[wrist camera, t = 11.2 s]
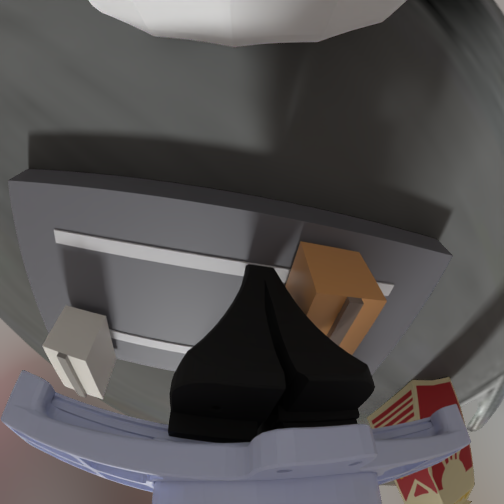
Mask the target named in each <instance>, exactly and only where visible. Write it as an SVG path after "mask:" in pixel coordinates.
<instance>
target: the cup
mask: <svg viewBox="0 0 504 504" xmlns="http://www.w3.org/2000/svg"><path fill="white" fill-rule="evenodd" d="M406 1H407V0H89V2H90V3H91V4H92V5H93V6H94V7H95V8H96V9H98V10H99V11H100V12H102V13H104V14H107V15H109V16H112V17H114V18H116V19H119V20H121V21H123V22H125V23H128V24H130V25H132V26H134V27H136V28H138V29H140V30H142V31H144V32H146V33H148V34H150V35H152V36H154V37H167V38H178V39H187V40H194V41H202V42H208V43H214V44H220V45H225V46H230V47H239V46H248V45H258V44H270V43H289V42H319V41H322V40H325V39H328V38H331V37H334V36H337V35H340V34H343V33H346V32H349V31H352V30H356V29H359V28H362V27H366V26H370V25H374V24H377V23H381V22H383V21H384V20H385V19H387V18H388V17H389V16H390V15H391V14H392V13H393V12H395V11H396V10H397V9H398V8H399V7H400V6H401V5H402V4H403V3H405V2H406Z"/></svg>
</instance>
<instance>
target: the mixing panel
mask: <svg viewBox="0 0 504 504" xmlns="http://www.w3.org/2000/svg"><path fill="white" fill-rule="evenodd" d="M8 184H9V193H10V200H11V206H12V212H13V218H14V223H15V228H16V233H17V238H18V242H19V246H20V250H21V254H22V258H23V262H24V266H25V269H26V272H27V276H28V279H29V282H30V285H31V288H32V291H33V294H34V297H35V300H36V303H37V306H38V308H39V311H40V313H41V316H42V319H43V321H44V324H45V326H46V328H47V331H48V333H50V331H51V329H52V328H53V326H54V324H55V322H56V321H57V319H58V317H59V316H60V314H61V312H62V311H63V309H64V308H65V306H66V305H67V306H71V307H74V308H78V309H81V310H85V311H89V312H93V313H97V314H100V315H104V316H106V318H107V323H108V327H109V331H110V336H111V340H112V344H113V348H114V352H115V355H116V358H117V359H121V360H125V361H129V362H133V363H137V364H142V365H146V366H151V367H156V368H161V369H166V370H171V371H176V369H177V367H178V365H179V364H180V362H181V360H182V359H183V357H184V356H185V354H186V352H187V351H188V350H189V349H191V348H192V347H193V346H194V345H196V344H197V343H198V342H199V341H200V340H202V339H203V338H204V337H205V336H206V335H207V334H208V333H209V332H210V331H211V330H212V329H213V328H214V326H215V325H216V324H217V323H218V322H219V321H220V319H221V318H222V317H223V316H224V314H225V313H226V311H227V310H228V308H229V307H230V305H231V304H232V302H233V300H234V299H235V297H236V295H237V293H238V291H239V289H240V287H241V285H242V280H243V276H244V271H245V267H246V265H248V264H252V265H259V266H265V267H272V268H274V269H275V271H276V272H277V274H278V276H279V277H280V279H281V281H282V282H283V284H284V285H285V286H286V283H287V280H288V277H289V274H290V271H291V268H292V265H293V262H294V259H295V256H296V253H297V250H298V247H299V244H300V241H302V242H308V243H313V244H318V245H324V246H329V247H335V248H340V249H345V250H350V251H356V252H359V253H360V254H361V256H362V258H363V259H364V261H365V263H366V264H367V266H368V268H369V270H370V271H371V273H372V275H373V277H374V278H375V280H376V282H377V284H378V286H379V287H380V289H381V291H382V293H383V295H384V296H385V298H386V300H387V302H386V304H385V305H384V307H383V309H382V310H381V312H380V314H379V315H378V317H377V318H376V320H375V322H374V323H373V325H372V326H371V328H370V329H369V331H368V332H367V334H366V335H365V337H364V338H363V340H362V341H361V343H360V344H359V346H358V347H357V349H356V350H355V352H354V353H353V354H352V356H354V357H356V358H357V359H359V360H361V361H362V362H364V363H366V364H367V365H368V367H369V370H370V372H371V375H372V374H373V373H374V372H375V371H376V370H377V368H378V367H379V366H380V365H381V363H382V362H383V361H384V360H385V359H386V357H387V356H388V355H389V353H390V352H391V351H392V350H393V348H394V347H395V346H396V344H397V343H398V342H399V340H400V339H401V338H402V336H403V335H404V334H405V332H406V331H407V329H408V328H409V327H410V325H411V324H412V322H413V321H414V319H415V318H416V316H417V315H418V314H419V312H420V311H421V309H422V307H423V306H424V304H425V303H426V301H427V300H428V298H429V297H430V295H431V293H432V292H433V290H434V288H435V287H436V285H437V283H438V282H439V280H440V278H441V277H442V275H443V273H444V271H445V270H446V268H447V266H448V264H449V262H450V260H451V259H452V257H453V256H452V254H451V253H450V252H449V251H448V250H447V249H446V248H445V247H444V246H443V245H442V244H441V243H440V242H439V241H438V240H437V239H434V238H431V237H428V236H424V235H421V234H417V233H413V232H410V231H406V230H403V229H399V228H395V227H391V226H388V225H384V224H380V223H376V222H372V221H368V220H364V219H360V218H356V217H352V216H348V215H343V214H339V213H335V212H330V211H326V210H321V209H317V208H312V207H308V206H303V205H298V204H293V203H289V202H284V201H279V200H273V199H268V198H263V197H258V196H252V195H247V194H241V193H236V192H230V191H224V190H218V189H212V188H206V187H199V186H193V185H186V184H179V183H172V182H165V181H157V180H149V179H141V178H133V177H124V176H115V175H105V174H94V173H83V172H71V171H56V170H40V169H27V170H25V171H24V172H22V173H20V174H18V175H17V176H15V177H13V178H11V179H10V180H8Z"/></svg>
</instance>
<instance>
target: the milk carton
mask: <svg viewBox="0 0 504 504" xmlns="http://www.w3.org/2000/svg"><path fill="white" fill-rule="evenodd" d="M453 404H457V406H458V409H459V411H460V414H461V416H462V419H463V421H464V418H463V414H462V411H461V407H460V404H459V401H458V399H457V396H456V393H455V390H454V388H453V385H452V383H451V380H450V377H447V378H442V379H437V380H411V381H410V382H409V383H408V384H407V385H406V386H405V387H404V388H402V389H401V390H400V391H399V392H398V393H397V394H396V395H394V396H393V397H392V398H391V399H389V400H388V401H387V402H386V403H385V404H383V405H382V406H381V407H380V408H379V409H377V410H376V411H375V412H374V413H372V414H371V415H370V416H368V417H367V419H368V422H369V424H370V426H371V428H372V429H374V428H380V427H386V426H392V425H397V424H402V423H407V422H411V421H415V420H420V419H424V418H428V417H431V415H432V414H433V413H434V412H436V411H437V410H439V409H440V408H443V407H446V406H449V405H453ZM464 424H465V422H464ZM465 427H466V426H465ZM394 481H395V484H396V486H397V488H398V490H399V492H400V494H401V497H402V499H403V501H404V503H405V504H470V503H471V502H472V501H468V500H467V499H468V497H469V495H470V493H471V491H472V489H473V487H474V485H475V482H474V470H473V462H472V454H471V448H470V444H469V445H467V446H466V447H464V448H463V449H461V450H460V451H458V452H456V453H455V454H453V455H451V456H450V457H448V458H447V459H445V460H443V461H441V462H440V463H438V464H435V465H433V466H431V467H428V468H426V469H423V470H420V471H418V472H415V473H413V474H410V475H407V476H404V477H402V478H399V479H396V480H394Z"/></svg>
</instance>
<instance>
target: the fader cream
mask: <svg viewBox="0 0 504 504" xmlns="http://www.w3.org/2000/svg"><path fill="white" fill-rule="evenodd" d="M42 346H43V348H44V350H45V352H46V354H47V356H48V358H49V360H50V362H51V363H52V365H53V367H54V369H55V371H56V372H57V374H58V376H59V378H60V379H61V381H62V382H63V384H64V386H66V387H69V388H71V389H74V390H75V391H76V392H77V394H78V395H80V396H82V397H86V395H87V394H88V395H91V396H95V397H98V398H101V399H103V397H104V394H105V391H106V388H107V385H108V382H109V379H110V376H111V373H112V370H113V367H114V364H115V361H116V355H115V352H114V348H113V344H112V340H111V336H110V331H109V327H108V323H107V318H106V316H104V315H100V314H97V313H93V312H89V311H85V310H81V309H78V308H74V307H71V306H67V305H66V306H65V308H64V309H63V311H62V312H61V314H60V316H59V317H58V319H57V321H56V322H55V324H54V326H53V328H52V329H51V331H50V333H49V335H48V336H47V338H46V340H45V342H44V344H43V345H42Z"/></svg>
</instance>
